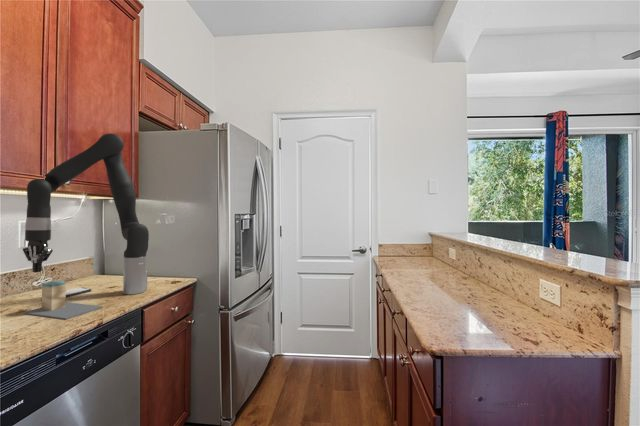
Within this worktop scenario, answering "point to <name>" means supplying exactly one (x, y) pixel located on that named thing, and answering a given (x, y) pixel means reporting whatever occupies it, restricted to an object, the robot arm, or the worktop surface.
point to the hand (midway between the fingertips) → (36, 271)
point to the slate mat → (64, 311)
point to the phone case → (77, 291)
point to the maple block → (53, 295)
